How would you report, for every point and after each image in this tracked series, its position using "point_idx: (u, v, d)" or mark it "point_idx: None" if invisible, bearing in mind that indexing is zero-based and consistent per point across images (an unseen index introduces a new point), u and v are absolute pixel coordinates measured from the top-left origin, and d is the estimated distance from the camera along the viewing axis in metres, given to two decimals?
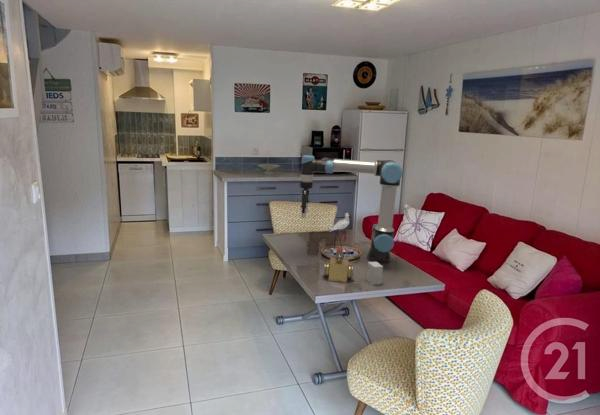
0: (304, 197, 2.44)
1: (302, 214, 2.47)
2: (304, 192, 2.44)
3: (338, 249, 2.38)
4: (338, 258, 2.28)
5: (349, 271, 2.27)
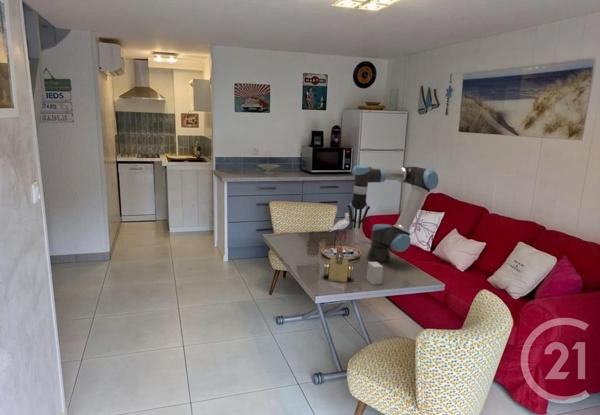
0: None
1: (355, 229, 2.37)
2: (348, 206, 2.34)
3: (338, 249, 2.38)
4: (338, 258, 2.28)
5: (349, 271, 2.27)
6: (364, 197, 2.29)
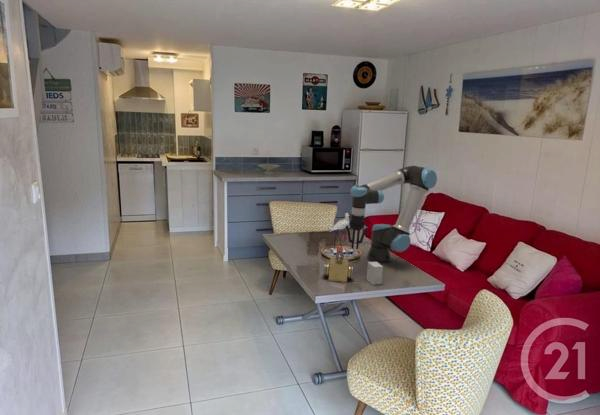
0: None
1: (353, 250, 2.40)
2: (346, 227, 2.37)
3: (338, 249, 2.38)
4: (338, 258, 2.28)
5: (349, 271, 2.27)
6: (362, 218, 2.32)
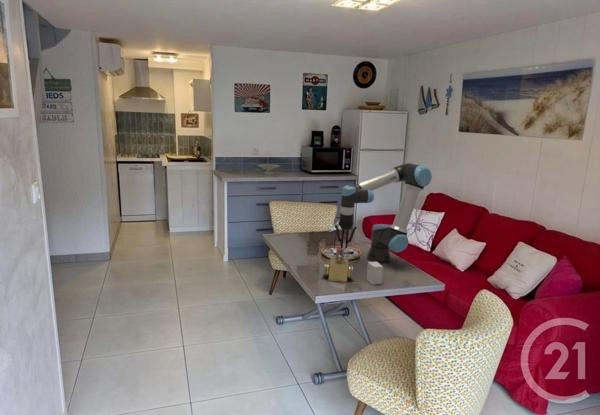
0: None
1: None
2: (335, 226, 2.37)
3: (338, 249, 2.38)
4: (338, 258, 2.28)
5: (349, 271, 2.27)
6: (351, 218, 2.32)
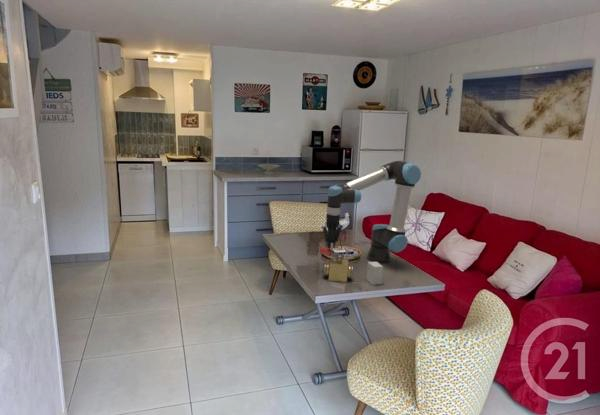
0: (324, 233, 2.34)
1: None
2: (322, 228, 2.33)
3: (327, 250, 2.36)
4: (341, 258, 2.28)
5: (349, 271, 2.27)
6: (339, 217, 2.32)
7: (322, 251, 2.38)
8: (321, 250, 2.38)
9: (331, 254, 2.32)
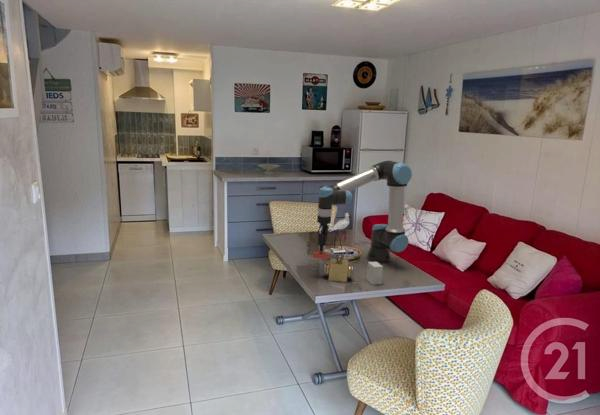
0: (320, 236, 2.26)
1: None
2: (319, 232, 2.24)
3: (323, 253, 2.29)
4: None
5: (349, 271, 2.27)
6: None
7: (317, 256, 2.29)
8: (315, 255, 2.29)
9: (330, 256, 2.29)
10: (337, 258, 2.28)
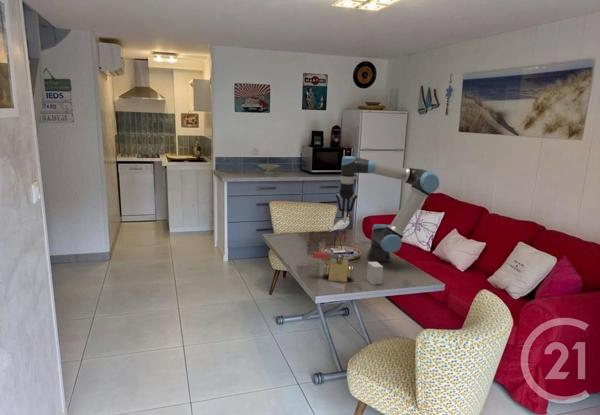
0: None
1: (343, 218, 2.46)
2: (336, 196, 2.42)
3: (323, 253, 2.29)
4: None
5: (349, 271, 2.27)
6: (351, 186, 2.38)
7: (317, 256, 2.29)
8: (315, 255, 2.29)
9: (330, 256, 2.29)
10: (337, 258, 2.28)
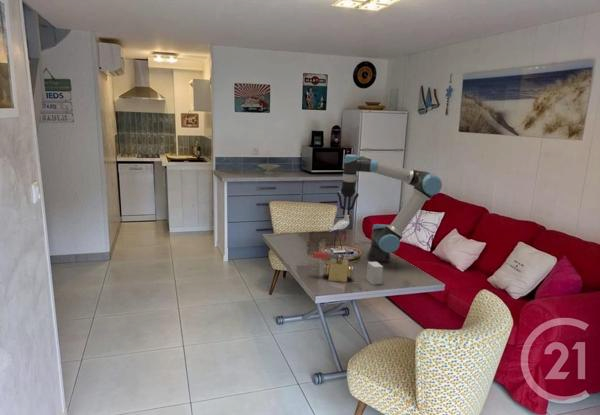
0: (339, 198, 2.45)
1: (344, 216, 2.47)
2: (337, 193, 2.45)
3: (323, 253, 2.29)
4: None
5: (349, 271, 2.27)
6: (353, 185, 2.40)
7: (317, 256, 2.29)
8: (315, 255, 2.29)
9: (330, 256, 2.29)
10: (337, 258, 2.28)
